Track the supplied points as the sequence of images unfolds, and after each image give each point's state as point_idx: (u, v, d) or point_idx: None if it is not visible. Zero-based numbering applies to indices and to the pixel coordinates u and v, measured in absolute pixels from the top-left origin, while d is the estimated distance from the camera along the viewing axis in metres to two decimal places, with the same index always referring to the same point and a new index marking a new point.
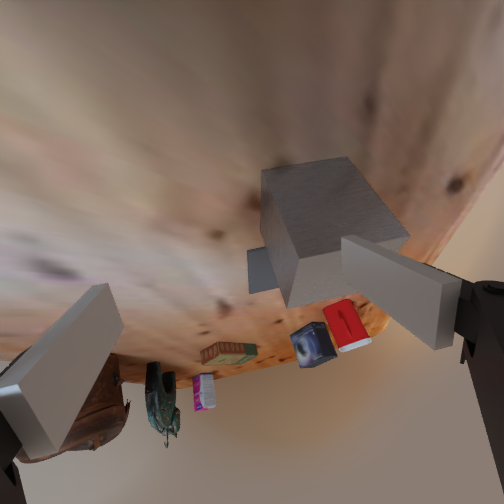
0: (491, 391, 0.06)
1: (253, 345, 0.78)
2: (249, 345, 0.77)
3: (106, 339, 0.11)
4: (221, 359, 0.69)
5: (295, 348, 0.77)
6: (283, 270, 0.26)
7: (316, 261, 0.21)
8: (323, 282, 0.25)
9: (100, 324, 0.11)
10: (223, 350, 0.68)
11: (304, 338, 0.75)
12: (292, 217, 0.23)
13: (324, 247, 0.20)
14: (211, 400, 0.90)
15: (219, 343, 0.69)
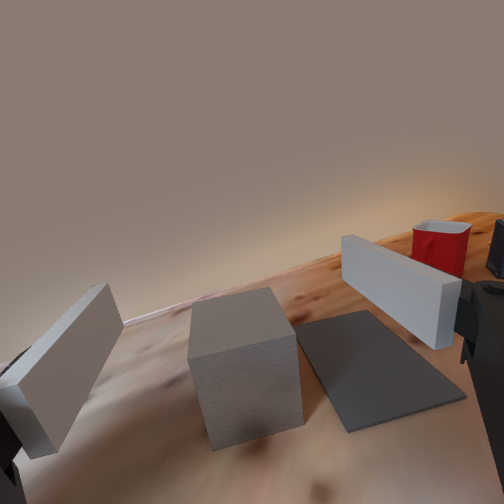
0: (491, 391, 0.06)
1: None
2: None
3: (106, 339, 0.11)
4: None
5: None
6: (254, 366, 0.23)
7: (198, 344, 0.23)
8: (241, 324, 0.26)
9: (100, 324, 0.11)
10: None
11: None
12: None
13: None
14: None
15: None
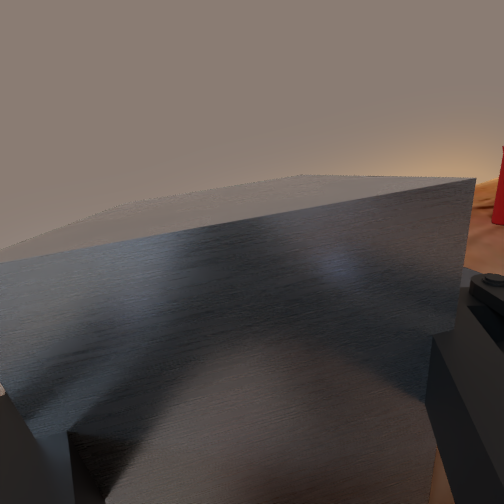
0: (430, 382, 0.07)
1: None
2: None
3: None
4: None
5: None
6: (290, 325, 0.05)
7: (56, 237, 0.06)
8: (237, 198, 0.08)
9: None
10: None
11: None
12: None
13: None
14: None
15: None
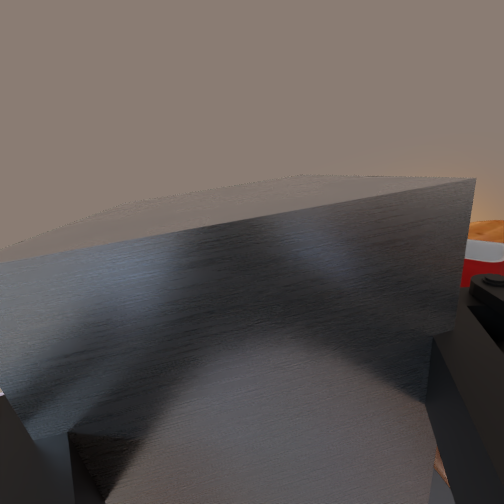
0: (431, 382, 0.07)
1: None
2: None
3: None
4: None
5: None
6: (290, 326, 0.05)
7: (54, 238, 0.06)
8: (236, 199, 0.08)
9: None
10: None
11: None
12: None
13: None
14: None
15: None
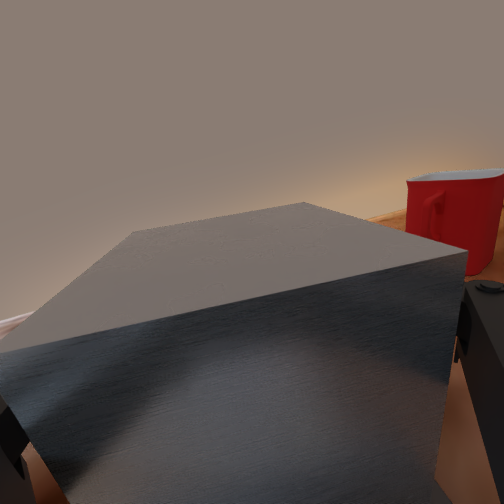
0: (484, 390, 0.06)
1: None
2: None
3: None
4: None
5: None
6: (297, 383, 0.06)
7: (79, 300, 0.06)
8: (244, 247, 0.08)
9: None
10: None
11: None
12: None
13: None
14: None
15: None
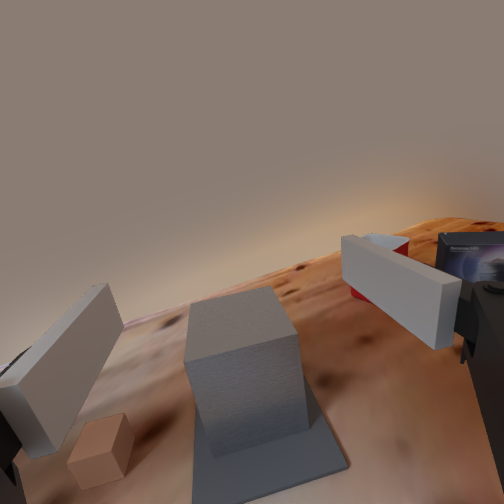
0: (491, 391, 0.06)
1: None
2: None
3: (106, 339, 0.11)
4: None
5: None
6: (255, 368, 0.22)
7: (195, 346, 0.22)
8: (241, 324, 0.24)
9: (100, 324, 0.11)
10: None
11: None
12: None
13: None
14: None
15: None
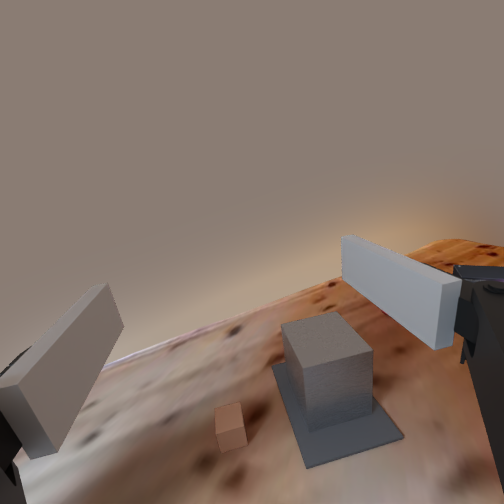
0: (491, 391, 0.06)
1: None
2: None
3: (106, 339, 0.11)
4: None
5: None
6: (344, 372, 0.34)
7: (304, 357, 0.34)
8: (329, 342, 0.36)
9: (100, 324, 0.11)
10: None
11: None
12: (302, 389, 0.34)
13: (296, 359, 0.35)
14: None
15: None
